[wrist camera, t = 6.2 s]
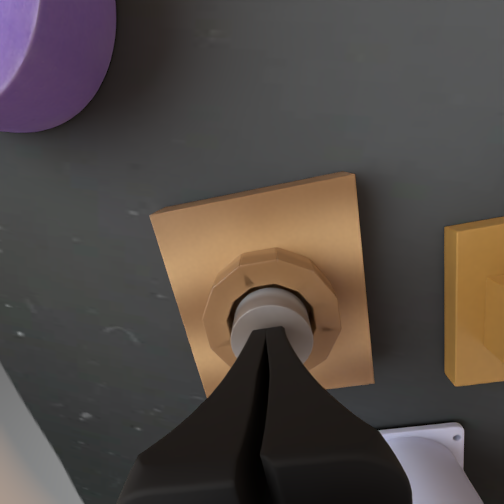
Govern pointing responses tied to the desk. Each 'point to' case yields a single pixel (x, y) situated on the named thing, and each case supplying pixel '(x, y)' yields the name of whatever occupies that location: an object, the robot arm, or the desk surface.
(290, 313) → the button
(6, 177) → the desk surface
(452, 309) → the bracket
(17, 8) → the tape roll
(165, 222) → the button housing
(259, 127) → the desk surface
